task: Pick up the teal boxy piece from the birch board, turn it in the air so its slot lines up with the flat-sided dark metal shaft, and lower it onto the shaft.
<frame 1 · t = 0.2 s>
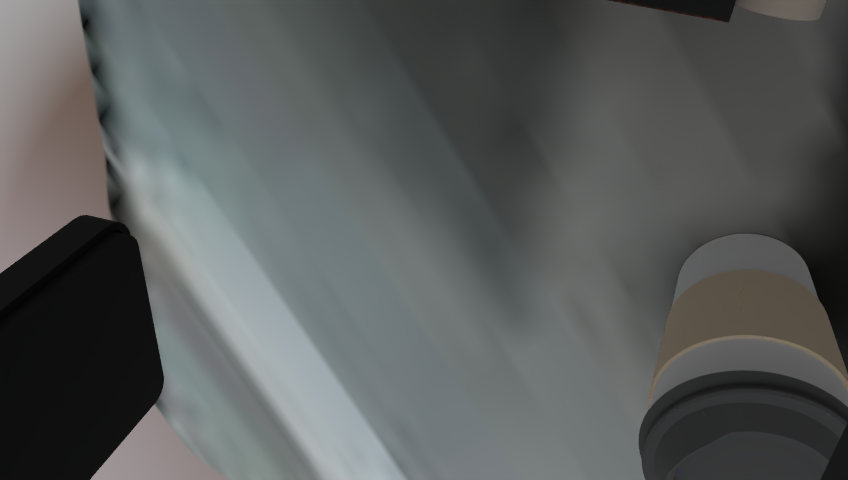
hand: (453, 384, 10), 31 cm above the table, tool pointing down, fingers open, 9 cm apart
coffee cup: (742, 285, 43), on the table
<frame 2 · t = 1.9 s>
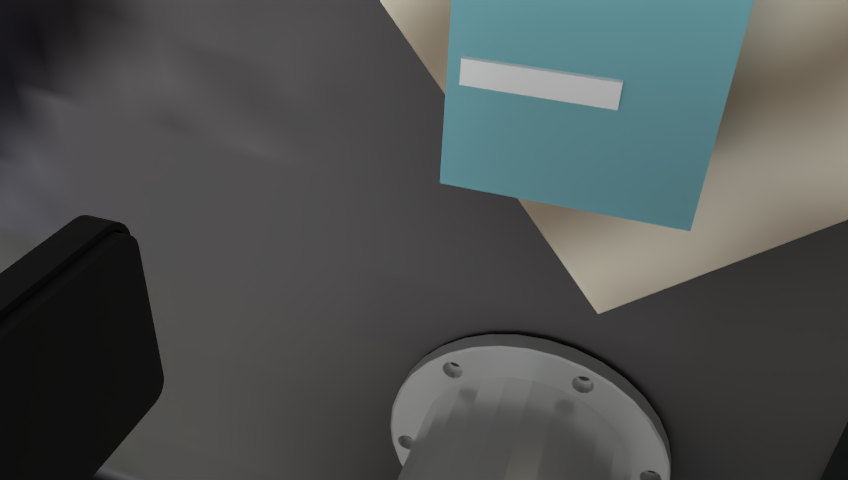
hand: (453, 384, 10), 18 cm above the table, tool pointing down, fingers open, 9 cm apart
teal boxy piece: (603, 27, 23), point 2 cm above the table, touching hub board
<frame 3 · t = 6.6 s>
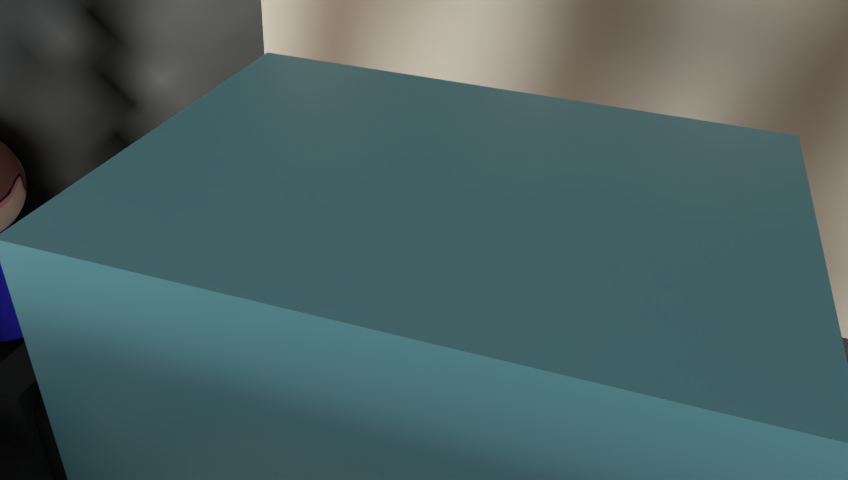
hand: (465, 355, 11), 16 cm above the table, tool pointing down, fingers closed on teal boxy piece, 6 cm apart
teal boxy piece: (488, 304, 12), point 15 cm above the table, touching gripper
figurine character: (27, 253, 39), on the table
when the fingers open (4 cm above the table, at t = 9.6 s): teal boxy piece stays where it is, resting on hub board.
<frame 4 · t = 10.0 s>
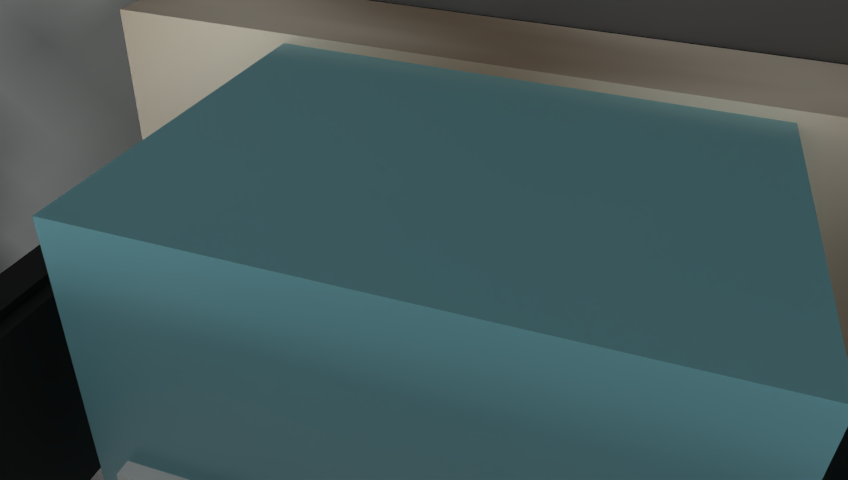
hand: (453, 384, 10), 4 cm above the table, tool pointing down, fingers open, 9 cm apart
teal boxy piece: (496, 288, 12), point 2 cm above the table, touching hub board
hub board: (520, 221, 14), on the table
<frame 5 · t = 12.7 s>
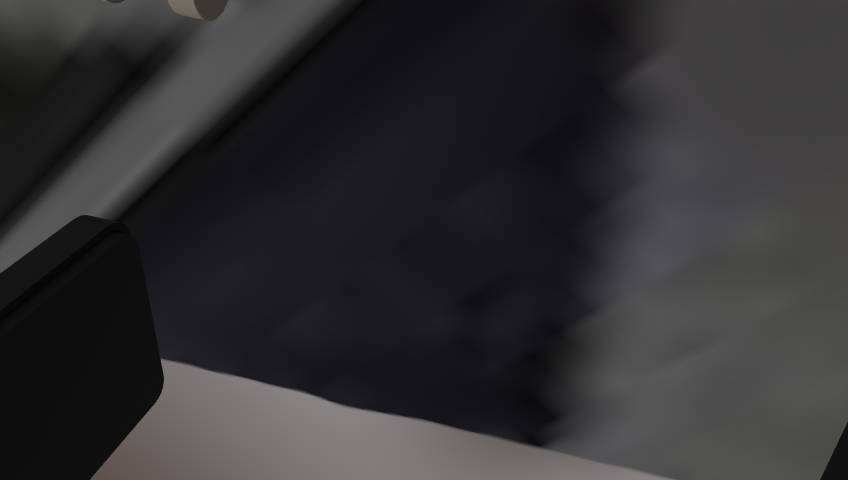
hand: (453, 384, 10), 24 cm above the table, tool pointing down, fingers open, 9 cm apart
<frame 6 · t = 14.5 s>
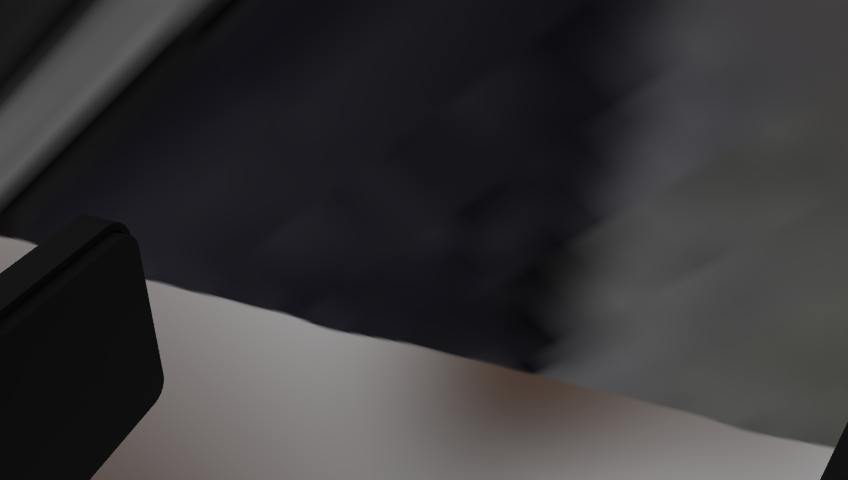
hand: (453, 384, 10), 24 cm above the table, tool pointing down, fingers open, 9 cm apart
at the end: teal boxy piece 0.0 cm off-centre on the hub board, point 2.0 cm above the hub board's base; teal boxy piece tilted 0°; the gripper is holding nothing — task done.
